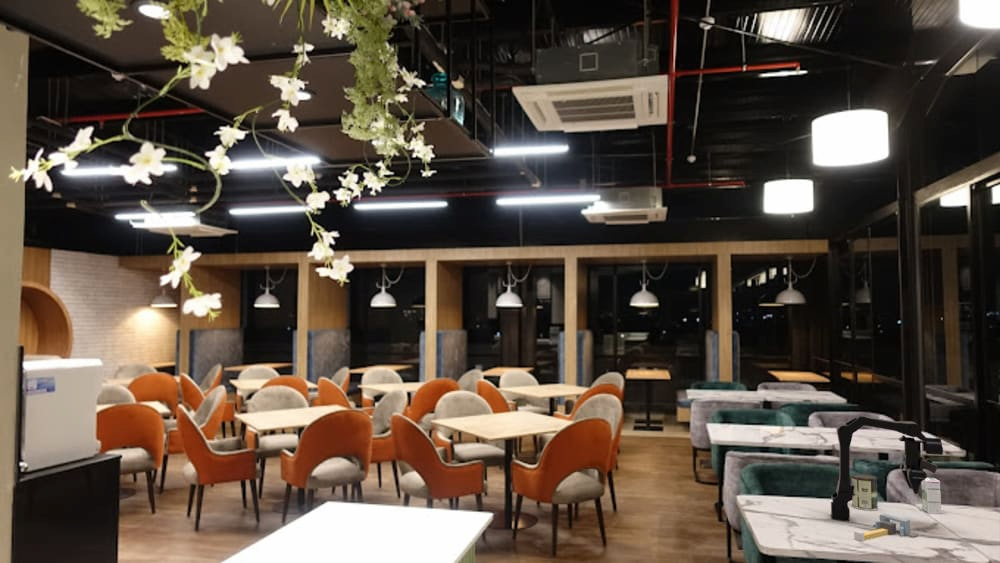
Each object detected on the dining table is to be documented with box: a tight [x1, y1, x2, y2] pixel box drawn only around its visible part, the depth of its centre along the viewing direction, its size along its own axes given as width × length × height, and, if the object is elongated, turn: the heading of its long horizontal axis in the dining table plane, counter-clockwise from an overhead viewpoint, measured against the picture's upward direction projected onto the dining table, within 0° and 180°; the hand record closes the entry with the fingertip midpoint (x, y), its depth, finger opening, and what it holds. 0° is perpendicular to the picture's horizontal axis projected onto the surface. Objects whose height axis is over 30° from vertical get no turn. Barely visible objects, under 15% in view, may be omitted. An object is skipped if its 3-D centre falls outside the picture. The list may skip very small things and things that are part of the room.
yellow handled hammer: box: [853, 521, 897, 542], centre depth 258 cm, size 22×4×4 cm, turn 119°
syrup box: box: [920, 477, 942, 515], centre depth 294 cm, size 6×6×14 cm
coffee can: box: [850, 473, 879, 511], centre depth 300 cm, size 10×10×14 cm
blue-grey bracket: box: [872, 513, 919, 538], centre depth 264 cm, size 6×16×5 cm, turn 29°
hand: (913, 491), depth 272 cm, fingers open, 9 cm apart
